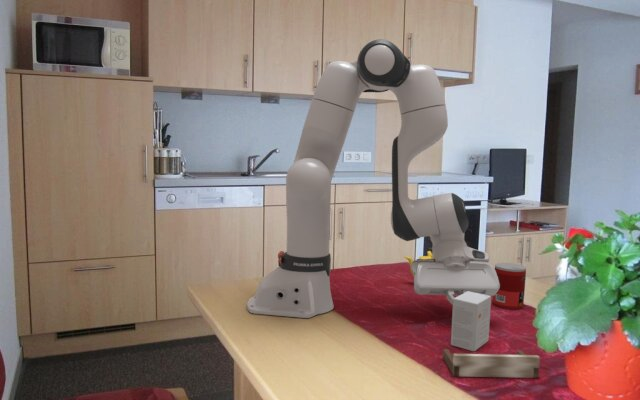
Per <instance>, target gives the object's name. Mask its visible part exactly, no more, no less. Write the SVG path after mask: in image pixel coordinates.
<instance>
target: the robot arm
mask: <svg viewBox="0 0 640 400" xmlns="http://www.w3.org/2000/svg"><path fill="white" fill-rule="evenodd" d="M411 64H412V63H411V61H410V60H409V59H408V58H407V56H406V55H405V54H404V53H403V52H402V50H401V49H400V48H399V47H398V46H397V45H396V44H394V43H393V42H391V41H389V40H387V39H381V38H379V39H375V40H371V41H370V42H368V43H366V44H365V45H363V47H362V49H361V50H360V52H359V54H358V57H357V60H355V61H353V62H348V61H345V60H334V61H332V62H330V63H328V65H326V67H324V70H323V72H322V73H321V76H320V78H319V80H318V83H317V84H316V87H315V89H314V93H313V96H312V99H311V102H310V104H309V109H308V111H307V114H306V117H305V120H304V123H303V127H302V130H301V131H302V132H301V135H300V138H299V142H298V145H297V146H298V147H297V150H296V153H295V156H294V160H293V164H291V166H290V167H289V169H287V173H286V177H285V199H286V203H285V204H286V251H284V250H280V251H279V252H278V254H277V258H278V261H277V263H278V267H276V268H275V269H274V270H272V271H271V272H270V273H268V274H267V275H265V276H264V277H263V278H262V279H261V280H260V281H259V283H258V285H257V287H256V292H255V294H254V295H252V296H251V297H250V298H249V299H248V300H247V304H246V309H247V311H248V312H249V313H251V314H255V315H266V316H277V317H290V318H291V317H292V318H303V319H309V318H312V317H314V316H316V315H322V314H326V313H328V312H331V311H332V310H333V309H334V308H335V307H334V306H335V305H334V302H333V299H332V298H333V297H332V292H331V283H330V281H331V280H330V276H331V271H332V256H331V253H330V240H331V239H330V236H331V235H330V231H331V199H332V198H331V197H332V195H331V194H332V180H333V177H334V174H335V171H336V168H337V165H338V163H339V159H340V155H341V152H342V150H343V147H344V144H345V141H346V139H347V135H348V132H349V129H350V126H351V122H352V120H353V116H354V113H355V110H356V108H357V104H358V101H359V98H360V97H361V95H362V93H385V92H389V91H390V92H392V93H393V94H394V95H395V98H396V100H397V103H398V108H399V113H400V118H401V126H400V131H399V134H398V135H397V136H396V137H395V138H394V139H393V142H392V146H391V189H392V190H391V197H392V199H391V200H392V201H391V202H392V203H391V205H392V206H391V212H390V224H391V229H392V231H393V234H394V235H395V236H396V237H398V238H399V239H401V240H403V241H406V242H410V241H414V240H418V239H421V238H425V237H429V239H430V242H431V243H432V248H431V250H432V251H431V253H432V254H433V259H419V258H417V259H416V260H413V262H412V264H411V269H412V272H413V274H415V275H414V276H413V289H414V292H415V293H416V294H417V295H420V296H421V295H422V296H423V295H424V296H429V295H430V296H446V299H447V301H448V302H449V303H450V304H451V305H452V306H453V299H454V298H455V296H460V295H461V294H463V293H465V292H467V291H470V292H475V293H479V294H484V295H488V296H491V297H493V296H494V295H495V294H496V293H497V292H498V290H499V288H500V284H499V280H498V276H497V273H496V271H495V266H494V265H493V264H492V263H491V262H489V261H490V255H489V253H487V252H485V251H483V250H479V249H475V248H473V247H470V246H468V244H467V242H466V241H465V235H466V234H465V232H466V231H467V229H468V228H469V224H470V222H469V219H468V216H467V211H466V203H465V201H464V199H463V198H461V196H458V195H457V194H456V193H453V192H449V193H447V192H446V193H441V194H435V195H432V196H427V197H422V198H416V199H410V198H409V175H408V174H409V173H408V172H409V171H408V170H409V165H410V163H411V162H412V161H413V159H415V157H417V156H418V155H420V154H421V153H423V152H424V151H426V150H427V149H429V148H431V147H433V146H434V145H435V144H437V143H438V142H439V141H441V139H442V138H443V137H444V135H445V134H446V132H447V130H448V123H449V122H448V121H449V120H448V111H447V104H446V100H445V97H444V92H443V88H442V85H441V83H440V79H439V77H438V74H437V72H436V71H435V69H434V68H433V67H432V66H430V65H428V64H422V63H421V64H412V65H411ZM411 269H410V270H411ZM412 272H411V273H412ZM413 274H412V275H413Z"/></svg>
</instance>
